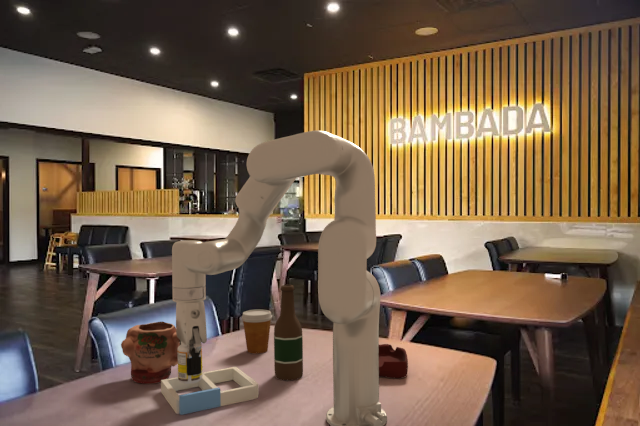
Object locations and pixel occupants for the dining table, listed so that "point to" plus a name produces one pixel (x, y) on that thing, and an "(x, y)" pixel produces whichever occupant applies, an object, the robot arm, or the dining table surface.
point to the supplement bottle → (183, 365)
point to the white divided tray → (209, 391)
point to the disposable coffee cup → (257, 330)
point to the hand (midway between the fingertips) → (190, 369)
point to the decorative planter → (151, 351)
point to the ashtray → (392, 362)
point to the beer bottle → (288, 339)
